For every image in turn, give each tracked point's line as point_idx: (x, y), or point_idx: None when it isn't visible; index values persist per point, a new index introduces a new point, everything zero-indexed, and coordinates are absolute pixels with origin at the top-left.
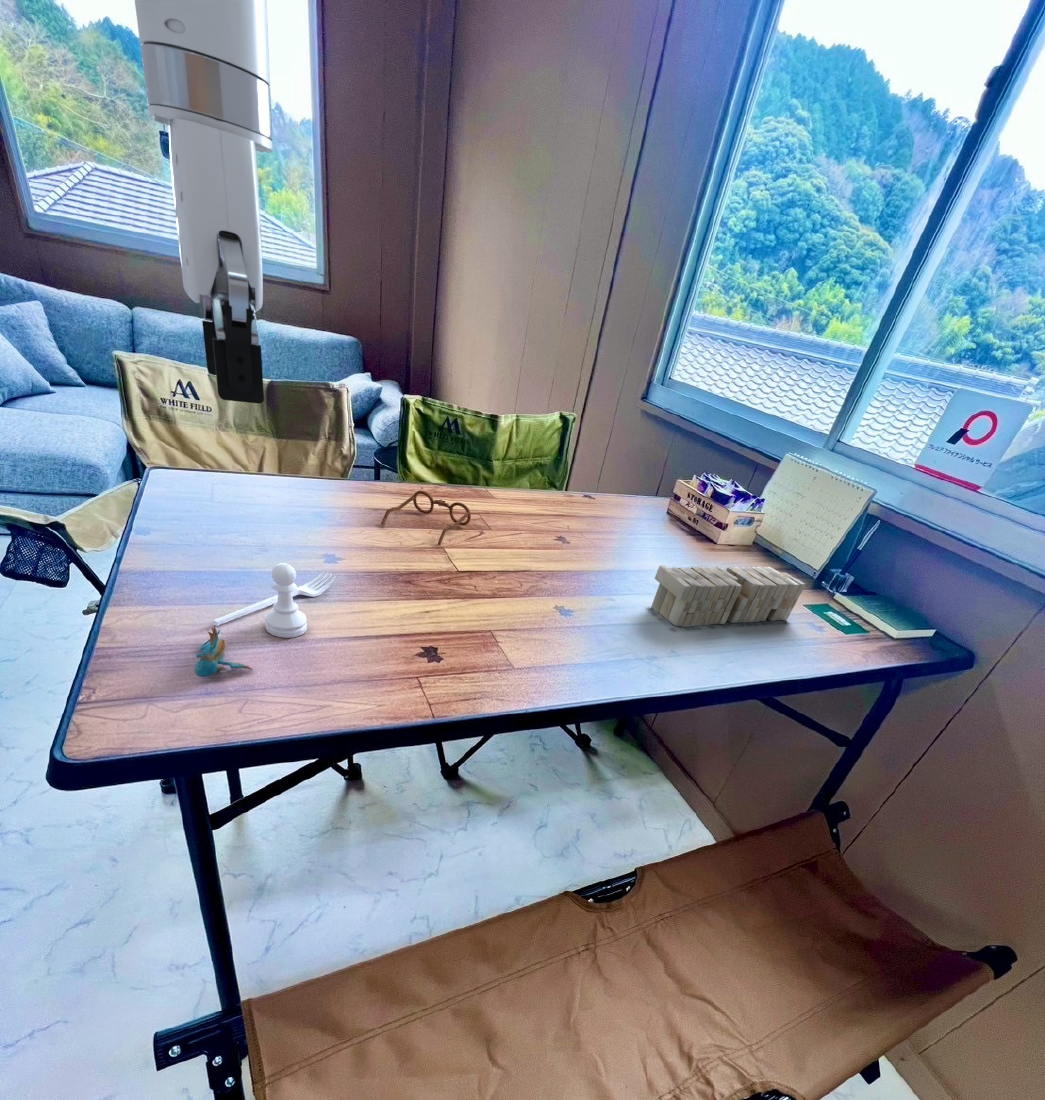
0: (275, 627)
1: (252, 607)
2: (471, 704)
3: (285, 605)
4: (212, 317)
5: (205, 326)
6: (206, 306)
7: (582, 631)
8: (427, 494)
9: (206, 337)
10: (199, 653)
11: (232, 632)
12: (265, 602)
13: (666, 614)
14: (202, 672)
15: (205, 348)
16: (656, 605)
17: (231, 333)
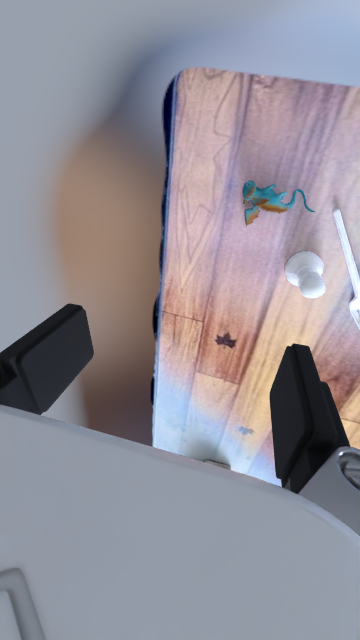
0: (293, 258)
1: (345, 249)
2: (169, 334)
3: (300, 274)
4: (320, 465)
5: (306, 422)
6: (309, 484)
7: (219, 422)
8: None
9: (298, 398)
10: (269, 187)
11: (317, 222)
12: (348, 262)
13: (215, 464)
14: (244, 185)
15: (304, 375)
16: (226, 468)
17: None
